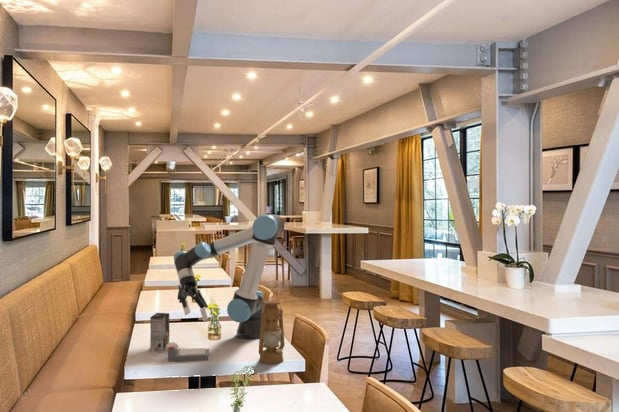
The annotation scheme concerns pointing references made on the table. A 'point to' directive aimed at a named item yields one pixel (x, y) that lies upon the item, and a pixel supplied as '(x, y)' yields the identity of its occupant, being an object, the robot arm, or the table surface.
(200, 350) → the scale plate
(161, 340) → the coffee box
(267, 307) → the lantern
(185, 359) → the scale
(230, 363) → the table surface
